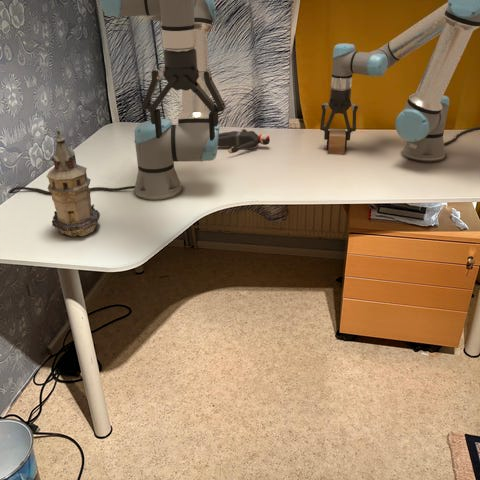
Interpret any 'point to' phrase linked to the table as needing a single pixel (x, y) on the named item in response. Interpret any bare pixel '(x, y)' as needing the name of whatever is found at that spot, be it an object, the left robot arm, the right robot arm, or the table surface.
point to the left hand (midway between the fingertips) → (185, 137)
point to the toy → (241, 140)
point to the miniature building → (70, 193)
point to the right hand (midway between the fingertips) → (336, 147)
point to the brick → (337, 141)
